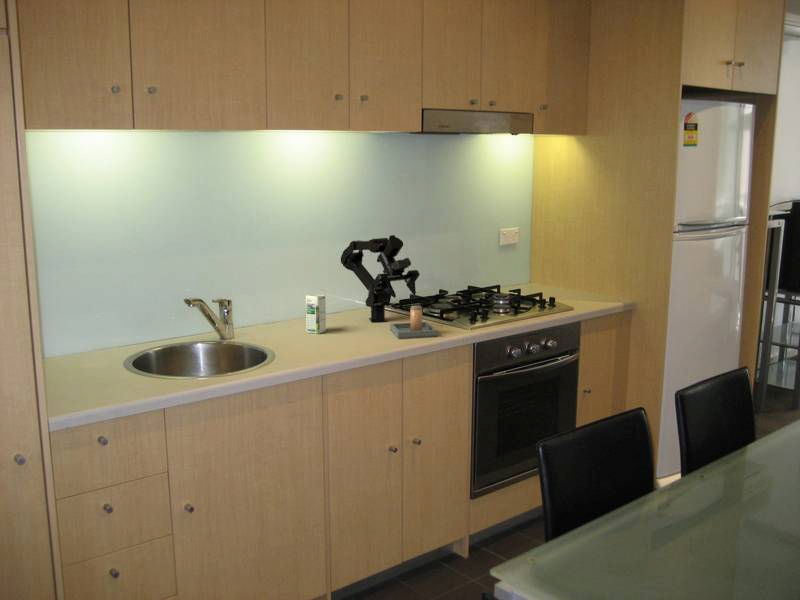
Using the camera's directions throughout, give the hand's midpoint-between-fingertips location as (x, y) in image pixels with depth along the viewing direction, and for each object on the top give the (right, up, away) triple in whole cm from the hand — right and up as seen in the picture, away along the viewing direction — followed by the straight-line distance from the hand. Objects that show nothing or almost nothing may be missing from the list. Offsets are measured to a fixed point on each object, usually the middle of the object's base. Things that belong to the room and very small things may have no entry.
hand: (405, 295), depth 307 cm
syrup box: (-34, -14, 0) cm, 37 cm away
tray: (+3, -14, -3) cm, 15 cm away
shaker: (+4, -14, -4) cm, 15 cm away
